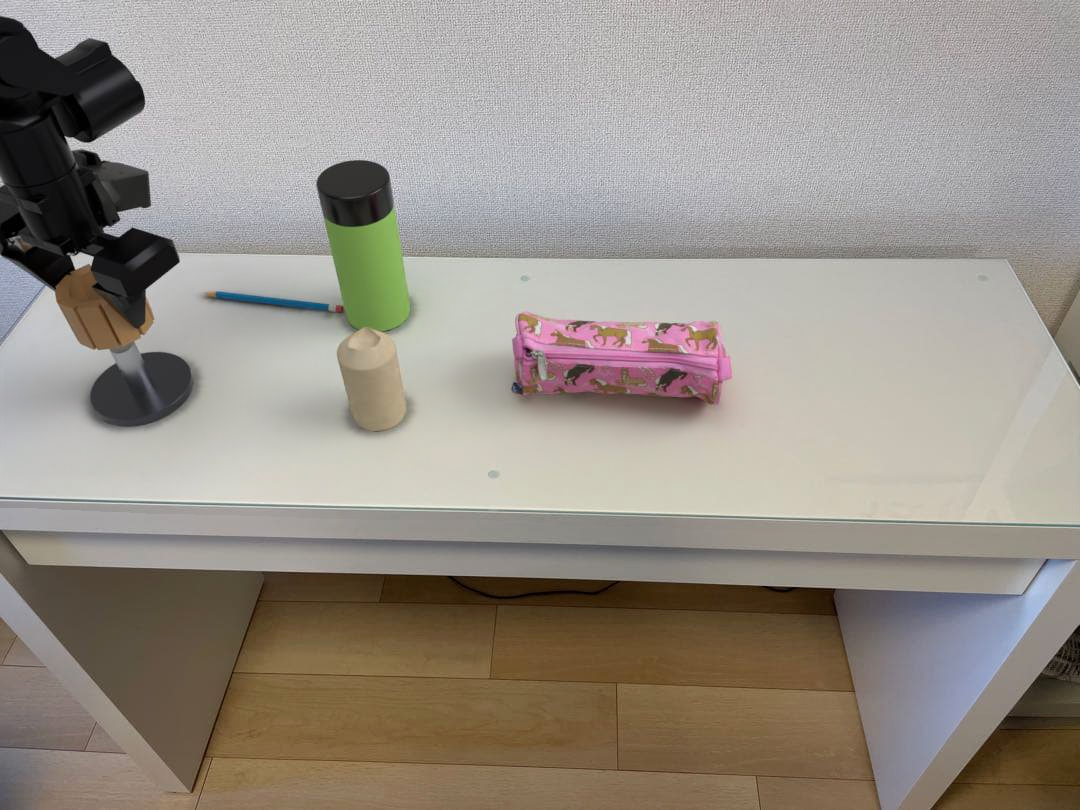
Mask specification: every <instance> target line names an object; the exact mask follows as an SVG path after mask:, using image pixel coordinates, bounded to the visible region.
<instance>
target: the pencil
mask: <svg viewBox="0 0 1080 810" xmlns="http://www.w3.org/2000/svg"><path fill="white" fill-rule="evenodd" d="M203 294H204V295H207V296H210V297H212V298H216V299H221V300H230V301H231V300H232V301H239V302H247V303H257V304H264V305H273V306H283V307H291V308H301V309H307V310H315V311H316V310H317V311H325V312H333V313H343V312H344V305H341V304H333V303H331V304H330V303H322V302H313V301H305V300H297V299H288V298H286V299H285V298H281V297H280V298H279V297H271V296H261V295H253V294H246V293H236V292H235V293H234V292H228V291H220V290H219V291H217V290H215V291H207V292H203Z"/></svg>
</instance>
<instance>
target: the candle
mask: <svg viewBox="0 0 1080 810" xmlns="http://www.w3.org/2000/svg"><path fill="white" fill-rule="evenodd" d="M336 357H337V362H338V366H339V369H340V373H341V377H342V381H343V385H344V389H345V393H346V398H347V401H348V406H349V409H350V413H351V416H352V419H353V421H354V422H355V424H356V425H357V426H358V427H360V428H362V429H363V430H366V431H371V432H381V431H386V430H389V429H392V428H393V427H395V426H397V425H398V424H399V423H401V421H402V420H403V419H404V417H405V416H406V413H407V402H406V397H405V396H406V395H405V389H404V384H403V379H402V373H401V367H400V363H399V357H398V352H397V346H396V343H395V340H394V339H393V338H392V337H391V336H390V335H389V334H387V333H385V332H384V331H382V332H380V331H377V330H373V329H371V328H369V327H365V328H362V329H360V330H359V329H358V330H357V331H355V332H352V333H351V334H350V335H348V336H347V337H346V338H344V339H343V340H342V341H341V342H340V343H339V345H338V347H337V349H336Z"/></svg>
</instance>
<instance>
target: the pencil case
mask: <svg viewBox="0 0 1080 810" xmlns="http://www.w3.org/2000/svg"><path fill="white" fill-rule="evenodd" d="M514 323H515V324H514V325H515V331H516V333H515V336H514V337H513V338H512V339H511V343H512V344H511V345H512V352H513V357H514V359H513V361H514V362H513V364H514V372H515V379H516V381H513V382H512V385H511V389H510V390H511V392H512V393H513V394H515V395H519V396H520V395H522V396H525V397H526V396H530V395H533V394H542V395H549V394H550V395H559V394H564V395H568V394H569V395H570V394H573V393H586V392H591V393H596V394H597V393H598V394H603V395H614V394H631V395H642V396H648V397H649V396H652V397H653V396H654V397H660V398H661V397H662V398H663V397H664V398H669V397H670V398H671V397H674V398H675V397H676V398H691V397H696V398H698V399H700V400H702V401H704V402H706V403H707V404H709V405H711V406H712V405H714V406H717V405H719V404H720V402H721V398H722V397H721V396H722V387H723V386H722V384H723V382H725V381H727V380H730V379H731V380H732V379H733V373H732V372H733V371H732V363H731V356H730V355H727V351H726V347H725V345H724V343H723V333H722V326H721V325H722V324H721V323H720V322H718V321H716V320H711V321H704V320H698V321H692V322H689V323H685V322H684V323H683V322H681V323H680V322H665V321H664V322H663V321H638V322H637V321H636V322H635V321H634V322H633V321H632V322H629V321H627V322H626V321H625V322H624V321H594V320H579V319H563V318H562V319H560V318H559V319H558V318H553V317H545V316H542V315H539V314H535V313H532V312H530V311H522V312H520V313H517V314H516V315H515V318H514Z"/></svg>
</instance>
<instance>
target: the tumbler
mask: <svg viewBox="0 0 1080 810" xmlns="http://www.w3.org/2000/svg"><path fill="white" fill-rule="evenodd" d="M315 185H316V190H317V196H318V199H319V203H320V208H321V213H322V216H323V220H324V226H325V230H326V234H327V239H328V242H329V247H330V251H331V256H332V260H333V264H334V268H335V274H336V277H337V281H338V286H339V291H340V296H341V299H342V303H343V309H344V312H345V316H346V319H347V321H348V323H349V325H351V326H352V327H353V328H354V329H357V330H358V331H359V330H360V329H362V328H365V327H369V328H371V329H373V330H377V331H380V332H386V331H387V332H388V331H390V330H393V329H396V328H397V327H398V326H400V325H402V324H403V323H404V322H405V321H406V320H407V319H408V317H409V315H410V313H411V302H410V294H409V288H408V282H407V277H406V276H407V275H406V269H405V264H404V263H405V262H404V258H403V256H404V255H403V250H402V245H401V239H400V231H399V227H398V225H399V224H398V219H397V213H396V206H395V201H394V195H393V188H392V182H391V176H390V171H388V169H387V168H386V167H385V166H384V165H382V164H380V163H379V162H378V163H377V162H375V161H373V160H364V159H353V160H345V161H341V162H337V163H335V164H333V165H331V166H329V167H327V168H325V169H324V170H323V171H322V172H321V173H320V174H319V175H318V177H317V179H316V182H315Z"/></svg>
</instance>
